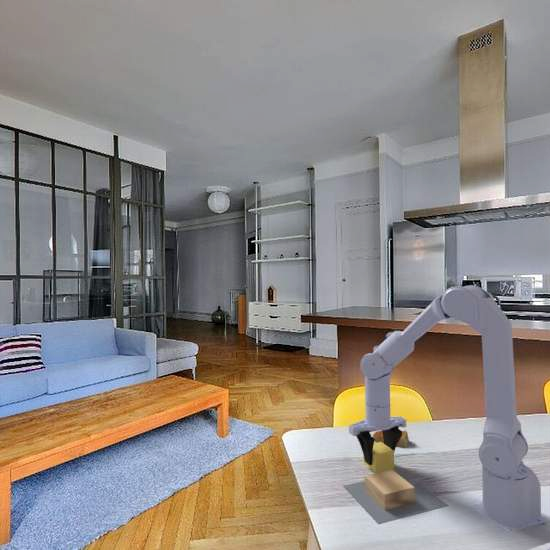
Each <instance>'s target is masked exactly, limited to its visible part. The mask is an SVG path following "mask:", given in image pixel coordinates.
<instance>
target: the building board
mask: <svg viewBox="0 0 550 550" xmlns="http://www.w3.org/2000/svg"><path fill="white" fill-rule="evenodd" d="M397 474H398V475H400V476H401V477H402V478H403V479H405V480H406V481H407V482H409V483H410V484H411V485H412V486H414V487H415V503H411V504H407V505H403V506H399V507H395V508H391V509H387V510H384V509H383V508H382V507H381V506H380V505H379V504H378V503H377V502H376V501H375V500H374V499H373V498H372V497H371V496H370V495H369V494H368V493H367V492H366V491H365V480H363V481H360V482H354V483H350V484H345V485H342V487H343V488H344V489H345V490H346V491H347V492H348V493H349V494H350V495H351V496H352V498H354V500H355V501H356V502H357V503H358V504H359V505H360V506H361V507H362V509H364V511H365V512H366V513H367V514H368V515H369V516H370V517H371V519H373V520H374V521H375V523H376V524H378V525H380V524H383V523H384V524H385V523H388V522H392V521H395V520H396V521H397V520H399V519H404V518H408V517H411V516H415V515H419V514H422V513H426V512H430V511H434V510H437V509H441V508H445V507H449V505H448V504H447V503H446V502H445V501H443V500H442V499H441V498H440V497H438V496H437V495H436V494H434V493H433V492H432V491H430V490H429V489H428V488H426V487H425V486H424V485H422V484H421V483H420V482H418V481H417V480H416V479H414V478H413V477H412V476H410V475H409V474H408V473H407V472H400V473H397Z"/></svg>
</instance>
